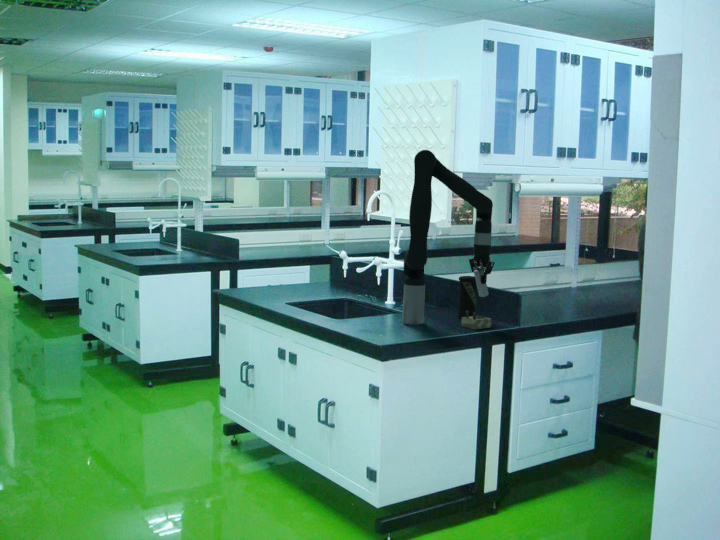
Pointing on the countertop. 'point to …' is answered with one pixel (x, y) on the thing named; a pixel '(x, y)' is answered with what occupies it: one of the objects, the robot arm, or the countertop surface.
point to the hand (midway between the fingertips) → (480, 283)
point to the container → (467, 296)
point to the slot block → (475, 321)
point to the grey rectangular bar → (480, 283)
